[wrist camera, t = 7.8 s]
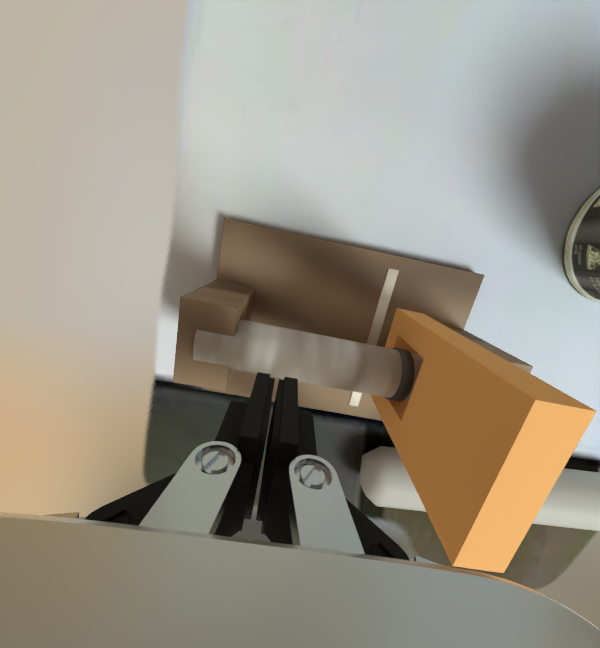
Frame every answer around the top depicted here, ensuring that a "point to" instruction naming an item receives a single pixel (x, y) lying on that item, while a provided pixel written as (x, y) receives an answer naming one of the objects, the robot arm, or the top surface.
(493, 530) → the orange flat block
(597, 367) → the top surface
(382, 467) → the tube
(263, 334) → the pipe stand
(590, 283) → the coffee can
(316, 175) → the top surface
